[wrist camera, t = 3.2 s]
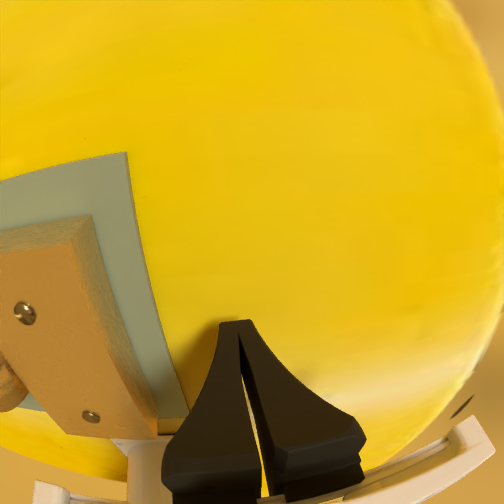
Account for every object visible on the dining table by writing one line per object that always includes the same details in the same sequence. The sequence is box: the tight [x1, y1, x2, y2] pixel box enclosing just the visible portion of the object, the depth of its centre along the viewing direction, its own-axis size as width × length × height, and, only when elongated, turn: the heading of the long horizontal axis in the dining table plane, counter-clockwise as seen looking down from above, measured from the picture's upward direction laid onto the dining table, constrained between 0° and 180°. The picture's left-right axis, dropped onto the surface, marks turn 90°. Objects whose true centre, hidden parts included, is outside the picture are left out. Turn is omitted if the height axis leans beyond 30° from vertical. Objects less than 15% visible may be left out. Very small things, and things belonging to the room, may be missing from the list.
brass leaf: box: [0, 214, 158, 440], centre depth 10 cm, size 12×10×4 cm
